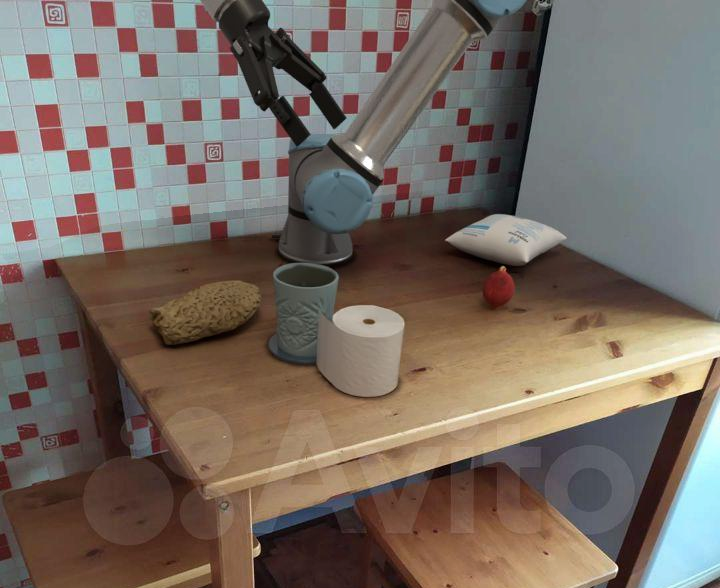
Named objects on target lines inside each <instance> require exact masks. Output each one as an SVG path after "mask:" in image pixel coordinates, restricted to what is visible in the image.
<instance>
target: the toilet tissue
mask: <svg viewBox="0 0 720 588" xmlns="http://www.w3.org/2000/svg"><path fill="white" fill-rule="evenodd" d="M318 312H319V318H318V339H317V362H316V364H315V365H316V366H317V369H318V371H319V372H320V373H321V374H322V376H323V377H325V378H326V380H327V381H328V382H329V383H331V384H332V386H334V388H335V389H337V390H339V391H341V392H343V393H345V394H348V395H351V396H355V397H363V398H372V397H379V396H384V395H387V394H389V393H391V392H392V391H394V390H395V389H396V388H397V386H398V383H399V376H400V365H401V359H402V358H401V357H402V348H403V342H404V333H405V323H406V322H405V320H404V318H403V317H402V316H401V315H400V314H399V313H398V312H395V311H394V310H391V309H388V308H386V307H385V308H384V307H381V306H378V305H373V304H365V305H362V304H360V305H359V304H358V305H351V306H346V307H343V308H340V309H339V310H337V311H335V313H333V318H332V323H331V322H330V321H329V320H328V319H327V318H326V317H325V316H324V315H323V314H322V313H321V311H320V310H319V311H318Z"/></svg>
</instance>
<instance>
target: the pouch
mask: <svg viewBox="0 0 720 588" xmlns="http://www.w3.org/2000/svg"><path fill="white" fill-rule="evenodd" d="M567 239H568V237H567V236H565V235H564V234H563V233H561V231H559V230H557V229H555V228H553V227H551V226H550V225H549V226H548V225H546V224H543V223H541V222H539V221H536V220H532V219H528V218H524V217H521V216H515V215H510V214H505V213H504V214H502V213H495V214H491V215H488V216H486V217H484V218H483V219H480V220H479V221H476V222H473V223H472V224H469V225H467V226H466V227H464V228H462V229H459V230H457V231H456V232H455V233H453V234H451V235H449V236H448V237H447V238H446V239H444V241H445V242H447V244H449V245H450V246H452V247H454V248H455V249H457V250H458V251H459V250H460V251H461V252H464V253H467V254H469V255H472V256H474V257H478V258H480V259H482V260H483V259H484V260H487V261H491V262H494V263H498V264H502V265H506V266H507V265H508V266H514V267H521V266H525V265H527V263H529V262H531V261H532V260H533V259H535V258H536V257H539V256H540V255H543V254H544V253H546V252H547V251H549V250H551V249H553V248H554V247H556V246H558V245H560V244H561V243H562V242H564V241H565V240H567Z"/></svg>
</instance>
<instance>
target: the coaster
mask: <svg viewBox="0 0 720 588" xmlns="http://www.w3.org/2000/svg"><path fill="white" fill-rule="evenodd" d="M268 351H269V352H270V354H271V355H272V356H273V357H274V358H277V359H278V360H280V361H282V362H285V363H288V364H292V365H298V366H314V365H315V366H316V365H317V364H316V362H317V356H316V357H308V358H306V357H296V356H292V355H289V354H287V353H285V352H283V351H282V350H281V349H280V348H279V347H278V339H277V333H275V334H273V335H272V336H271V337H270V338H269V340H268Z"/></svg>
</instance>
